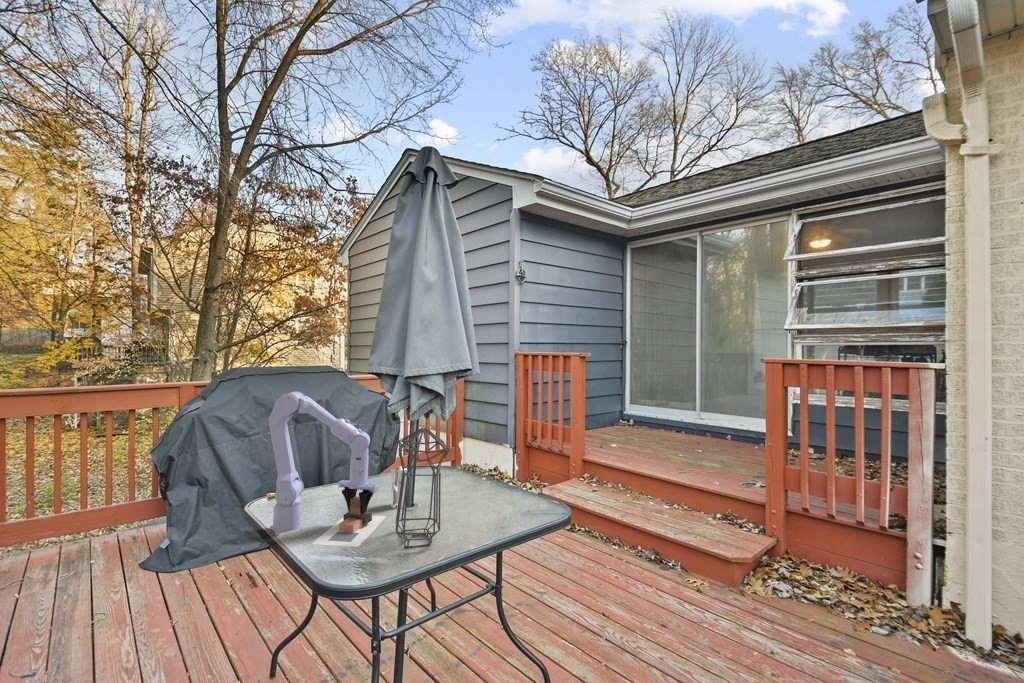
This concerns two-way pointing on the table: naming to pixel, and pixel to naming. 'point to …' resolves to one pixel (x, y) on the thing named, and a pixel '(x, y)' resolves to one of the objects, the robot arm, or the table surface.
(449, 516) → the table surface
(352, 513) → the brown block stamp
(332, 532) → the board
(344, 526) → the tile
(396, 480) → the beer glass
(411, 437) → the geometric lantern
